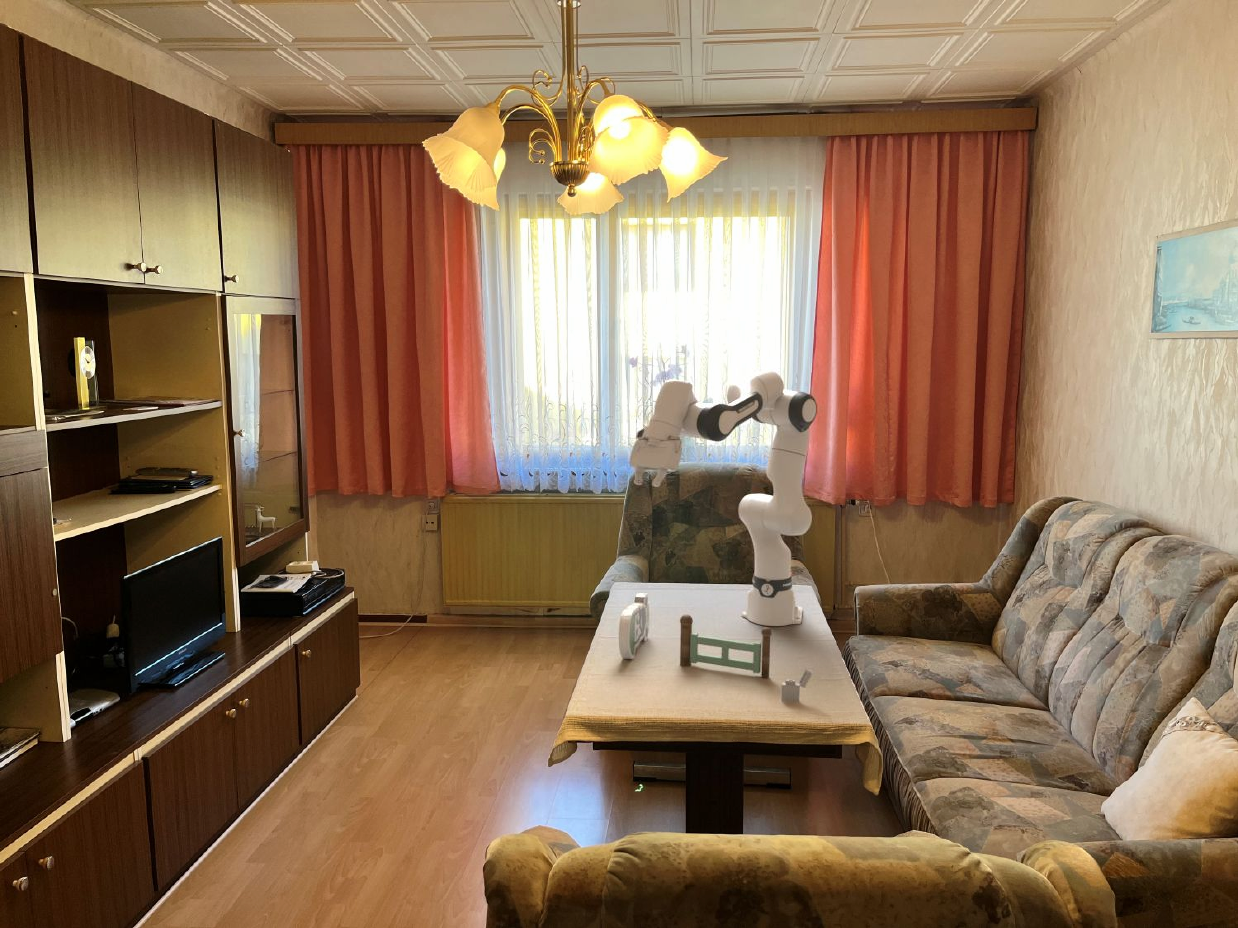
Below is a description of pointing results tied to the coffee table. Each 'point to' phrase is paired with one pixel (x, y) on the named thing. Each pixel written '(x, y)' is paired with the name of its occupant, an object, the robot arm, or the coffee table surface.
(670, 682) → the coffee table surface
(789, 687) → the lighter
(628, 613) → the cutout
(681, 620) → the gate posts
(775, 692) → the coffee table surface
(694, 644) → the gate
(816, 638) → the coffee table surface
